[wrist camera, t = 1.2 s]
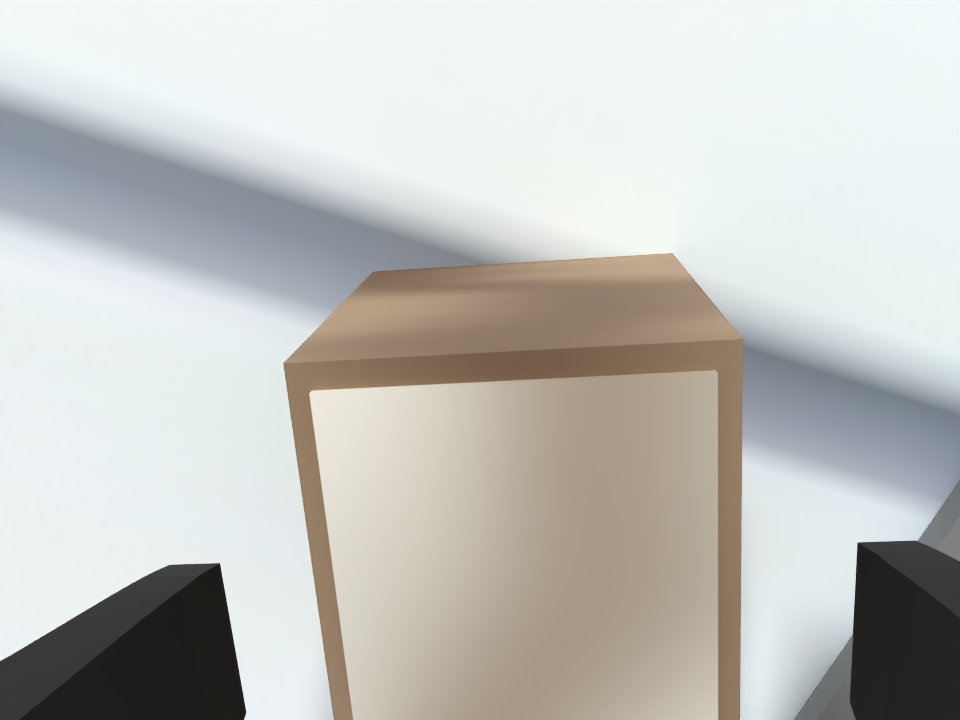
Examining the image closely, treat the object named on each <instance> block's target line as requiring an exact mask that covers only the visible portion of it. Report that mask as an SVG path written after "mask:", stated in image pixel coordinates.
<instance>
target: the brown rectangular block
mask: <svg viewBox="0 0 960 720" xmlns="http://www.w3.org/2000/svg"><path fill="white" fill-rule="evenodd" d="M283 364H284V371H285V378H286V385H287V392H288V399H289V406H290V413H291V420H292V427H293V434H294V441H295V448H296V455H297V462H298V469H299V476H300V483H301V490H302V497H303V505H304V512H305V519H306V526H307V533H308V540H309V547H310V554H311V561H312V568H313V575H314V582H315V589H316V596H317V603H318V610H319V617H320V624H321V631H322V638H323V645H324V652H325V660H326V667H327V674H328V681H329V688H330V695H331V702H332V709H333V716H334V720H740V627H741V497H742V367H743V339H742V338H741V336H740V335H739V334H738V333H737V331H736V330H735V329H734V328H733V327H732V325H731V324H730V323H729V322H728V320H727V319H726V318H725V317H724V316H723V314H722V313H721V312H720V311H719V310H718V308H717V307H716V306H715V305H714V303H713V302H712V301H711V300H710V299H709V297H708V296H707V295H706V294H705V292H704V291H703V290H702V289H701V288H700V286H699V285H698V284H697V283H696V282H695V280H694V279H693V278H692V277H691V275H690V274H689V273H688V272H687V271H686V269H685V268H684V267H683V266H682V264H681V263H680V262H679V261H678V260H677V258H676V257H675V256H674V255H673V254H672V253H668V254H652V255H636V256H620V257H604V258H587V259H571V260H555V261H539V262H523V263H507V264H491V265H475V266H459V267H442V268H426V269H410V270H394V271H378V272H373V273H372V274H371V275H370V276H369V277H368V278H367V279H366V280H365V281H364V282H363V283H362V284H361V285H360V286H359V287H358V288H357V289H356V290H355V291H354V292H353V293H352V294H351V295H350V296H349V297H348V298H347V299H346V300H345V301H344V302H343V303H342V304H341V305H340V306H339V307H338V308H337V309H336V310H335V311H334V312H333V313H332V314H331V315H330V316H329V317H328V319H327V320H326V321H325V322H324V323H323V324H322V325H321V326H320V327H319V328H318V329H317V330H316V331H315V332H314V333H313V334H312V335H311V336H310V337H309V338H308V339H307V340H306V341H305V342H304V343H303V344H302V345H301V346H300V347H299V348H298V349H297V350H296V351H295V352H294V353H293V354H292V355H291V356H290V357H289V358H288V359H287V360H286V361H285V362H284V363H283Z"/></svg>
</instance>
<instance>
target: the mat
mask: <svg viewBox="0 0 960 720" xmlns="http://www.w3.org/2000/svg"><path fill="white" fill-rule="evenodd" d="M918 542H920V543H923V544H925V545H927V546H930V547H932V548H934V549H936V550H938V551H940V552H942V553H944V554H946V555H948V556H950V557H952V558H954V559H956V560H958V561H960V482H959V483H958V484H957V486H956V487H955V489H954V490H953V492H952V493H951V495H950V496H949V497H948V499H947V500H946V502H945V503H944V505H943V506H942V508H941V509H940V510H939V512H938V513H937V515H936V516H935V518H934V519H933V521H932V522H931V523H930V525H929V526H928V528H927V529H926V531H925V532H924V534H923V535H922V536H921V538H920V539H919V541H918ZM852 645H853V636H852V637H851V639H850V640H849V642H848V643H847V645H846V646H845V648H844V649H843V650H842V652H841V653H840V655H839V656H838V658H837V659H836V661H835V662H834V663H833V665H832V666H831V668H830V669H829V671H828V672H827V674H826V675H825V676H824V678H823V679H822V681H821V682H820V684H819V685H818V687H817V688H816V689H815V691H814V692H813V694H812V695H811V697H810V698H809V700H808V701H807V702H806V704H805V705H804V707H803V708H802V710H801V711H800V713H799V714H798V715H797V717H796V718H795V720H856V719H855V716H854V713H853V710H852V707H851V705H850V685H851V665H852Z"/></svg>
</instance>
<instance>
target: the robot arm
mask: <svg viewBox="0 0 960 720" xmlns="http://www.w3.org/2000/svg"><path fill="white" fill-rule="evenodd" d="M850 705H851V707H852V710H853V713H854V716H855V719H856V720H960V561H958V560H956V559H954V558H952V557H950V556H948V555H946V554H944V553H942V552H940V551H938V550H936V549H934V548H932V547H930V546H927V545H925V544H923V543H920V542H918V541H891V542H860V543H858V546H857V566H856V586H855V606H854V625H853V645H852V665H851V685H850ZM245 715H246V709H245V703H244V697H243V692H242V686H241V680H240V675H239V669H238V663H237V658H236V652H235V646H234V641H233V635H232V629H231V624H230V618H229V612H228V607H227V601H226V595H225V590H224V584H223V578H222V573H221V567H220V563H214V564H183V565H168V566H166V567H164V568H162V569H159V570H157V571H155V572H153V573H151V574H149V575H147V576H145V577H143V578H141V579H140V580H138V581H136V582H134V583H132V584H130V585H129V586H127V587H125V588H123V589H122V590H120V591H118V592H117V593H115V594H113V595H111V596H110V597H108V598H106V599H105V600H103V601H101V602H100V603H98V604H96V605H95V606H93V607H91V608H89V609H88V610H86V611H84V612H83V613H81V614H79V615H78V616H76V617H74V618H73V619H71V620H69V621H68V622H66V623H64V624H63V625H61V626H59V627H58V628H56V629H54V630H53V631H51V632H49V633H48V634H46V635H44V636H43V637H41V638H39V639H38V640H36V641H34V642H33V643H31V644H29V645H28V646H26V647H24V648H23V649H21V650H19V651H17V652H16V653H14V654H12V655H11V656H9V657H7V658H5V659H3V660H2V661H0V720H244V718H245Z"/></svg>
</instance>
